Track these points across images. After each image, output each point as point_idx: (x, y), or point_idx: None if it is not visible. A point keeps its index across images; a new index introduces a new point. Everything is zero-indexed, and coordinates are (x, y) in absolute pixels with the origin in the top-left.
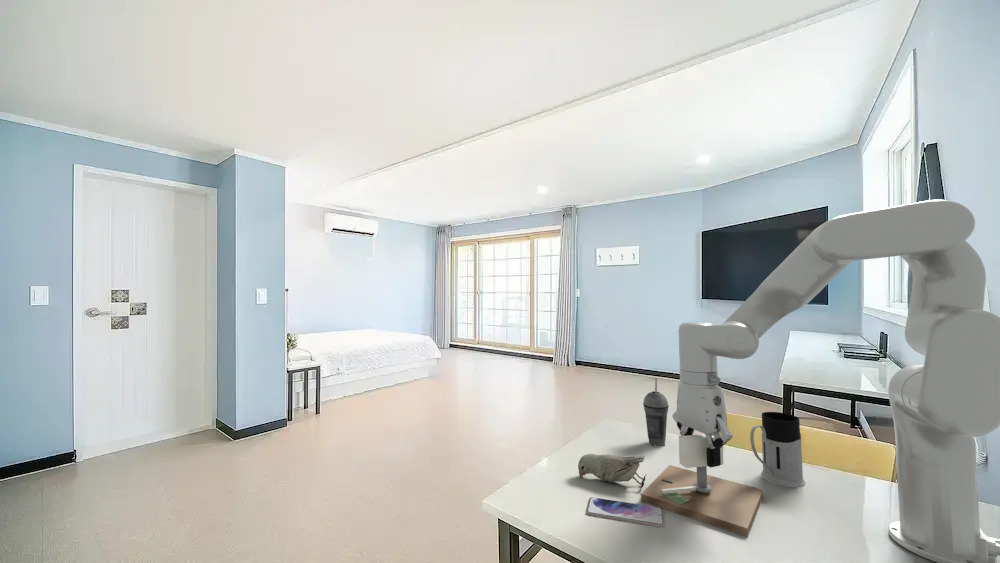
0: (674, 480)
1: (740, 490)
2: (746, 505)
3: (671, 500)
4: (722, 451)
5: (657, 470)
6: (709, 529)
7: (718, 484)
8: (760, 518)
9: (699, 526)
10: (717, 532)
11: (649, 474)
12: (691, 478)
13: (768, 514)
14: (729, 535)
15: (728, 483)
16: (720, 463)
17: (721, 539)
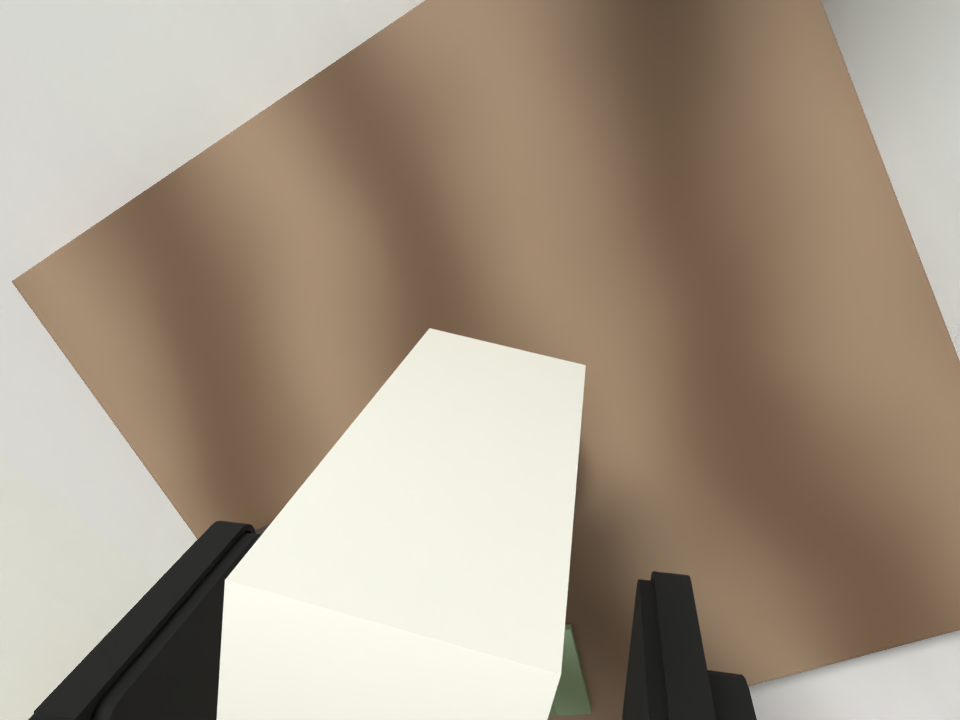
0: (277, 474)
1: (635, 89)
2: (849, 306)
3: None
4: (576, 468)
5: (31, 352)
6: (813, 681)
7: (455, 188)
8: (943, 261)
9: (757, 700)
10: (863, 670)
11: (84, 455)
12: (284, 320)
13: (951, 130)
14: (929, 641)
15: (476, 68)
16: (692, 588)
17: (924, 709)
